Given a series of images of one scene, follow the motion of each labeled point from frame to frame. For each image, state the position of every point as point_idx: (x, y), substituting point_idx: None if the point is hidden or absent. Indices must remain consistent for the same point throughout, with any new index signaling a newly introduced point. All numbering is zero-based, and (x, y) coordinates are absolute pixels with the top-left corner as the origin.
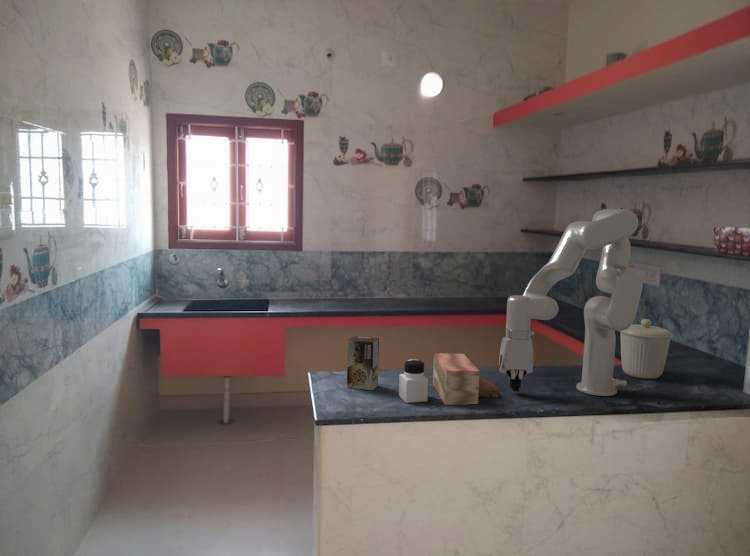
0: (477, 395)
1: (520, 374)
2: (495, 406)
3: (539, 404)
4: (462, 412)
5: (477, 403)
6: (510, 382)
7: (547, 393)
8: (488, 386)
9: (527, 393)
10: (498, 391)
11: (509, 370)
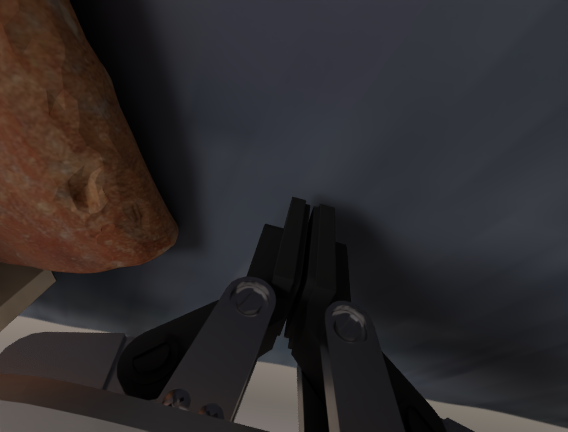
0: (9, 317)
1: (310, 413)
2: (131, 308)
3: None
4: None
5: (48, 285)
6: (254, 257)
7: (559, 261)
8: (48, 264)
9: (409, 225)
10: (148, 259)
11: (189, 379)
